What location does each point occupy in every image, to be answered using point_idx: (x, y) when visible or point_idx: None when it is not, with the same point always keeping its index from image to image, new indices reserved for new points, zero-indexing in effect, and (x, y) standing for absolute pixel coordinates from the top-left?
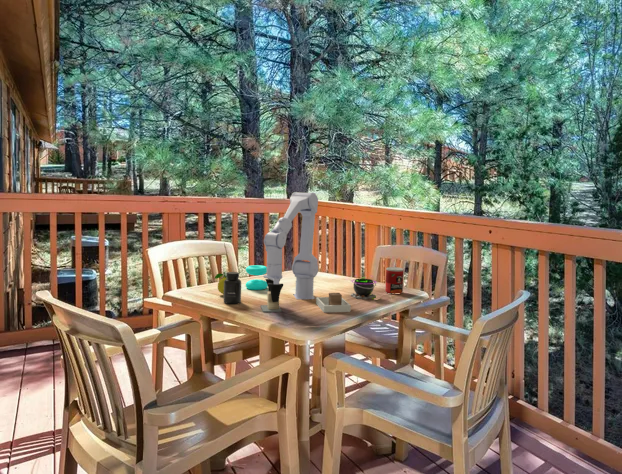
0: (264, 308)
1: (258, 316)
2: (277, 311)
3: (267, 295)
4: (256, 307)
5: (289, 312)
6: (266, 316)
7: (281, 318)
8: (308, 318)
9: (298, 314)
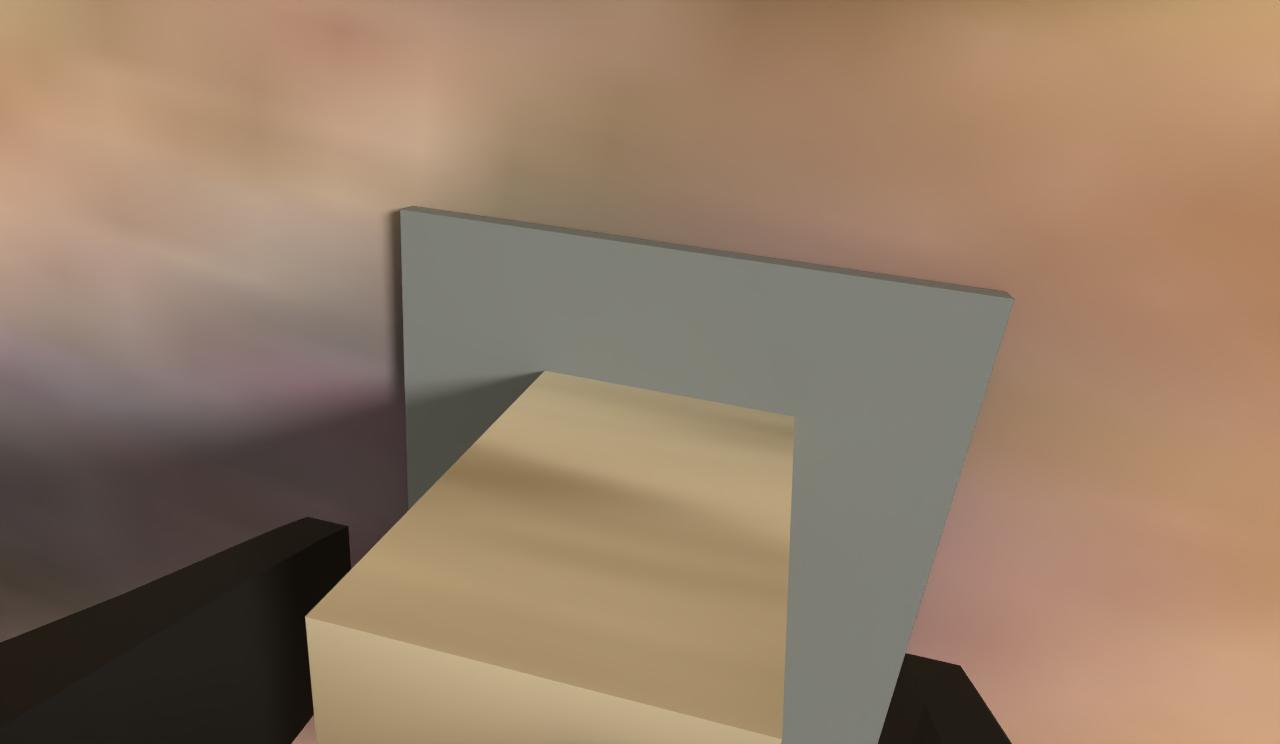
0: (640, 307)
1: (91, 22)
2: (417, 497)
3: (766, 600)
4: (935, 150)
5: None
6: (107, 197)
7: (17, 414)
8: None
9: None
